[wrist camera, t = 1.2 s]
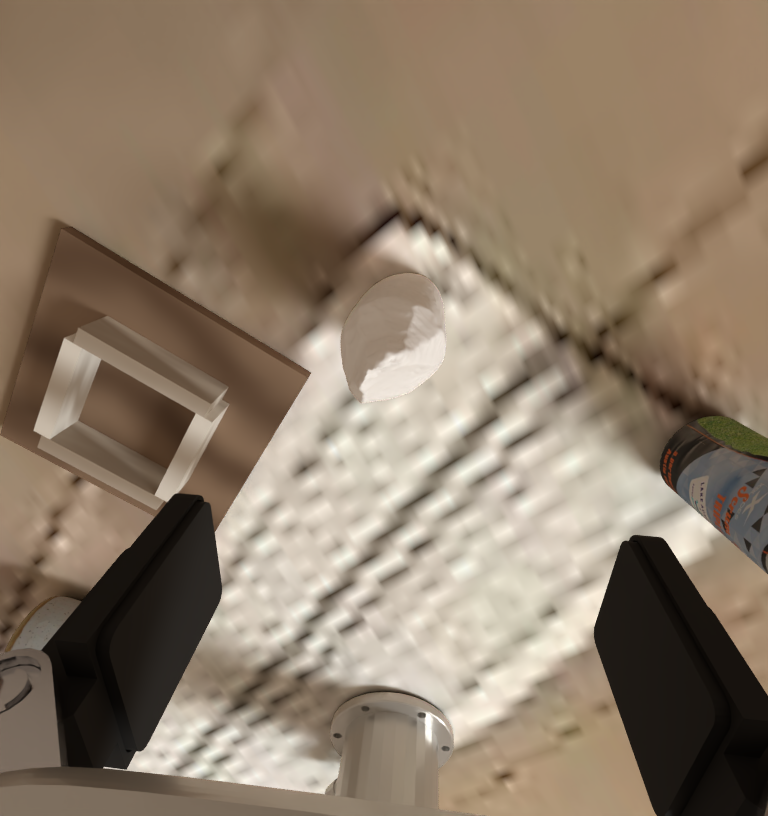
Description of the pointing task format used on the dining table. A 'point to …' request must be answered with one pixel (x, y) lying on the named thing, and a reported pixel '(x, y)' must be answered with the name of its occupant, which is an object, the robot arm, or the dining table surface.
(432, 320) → the roll
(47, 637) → the ceramic mug
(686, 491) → the beverage can
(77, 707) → the robot arm
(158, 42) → the dining table surface
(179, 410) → the stand
